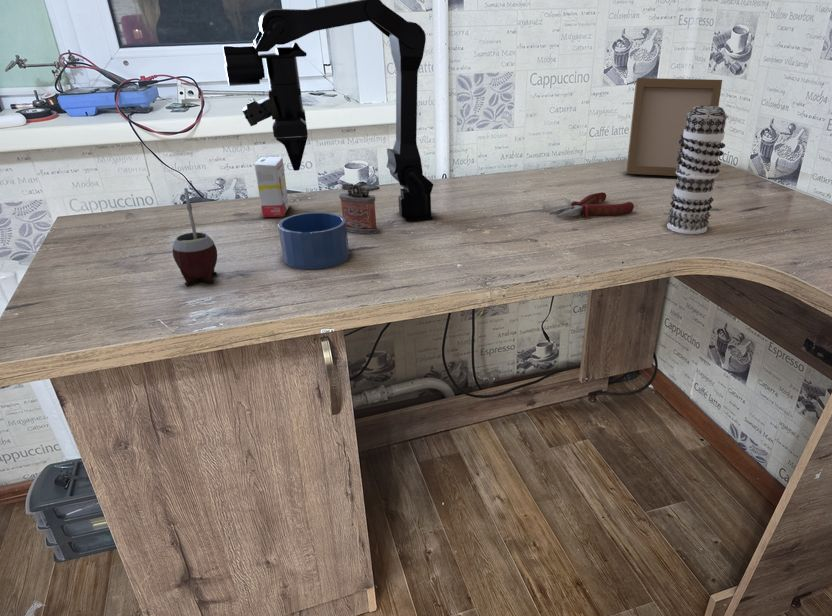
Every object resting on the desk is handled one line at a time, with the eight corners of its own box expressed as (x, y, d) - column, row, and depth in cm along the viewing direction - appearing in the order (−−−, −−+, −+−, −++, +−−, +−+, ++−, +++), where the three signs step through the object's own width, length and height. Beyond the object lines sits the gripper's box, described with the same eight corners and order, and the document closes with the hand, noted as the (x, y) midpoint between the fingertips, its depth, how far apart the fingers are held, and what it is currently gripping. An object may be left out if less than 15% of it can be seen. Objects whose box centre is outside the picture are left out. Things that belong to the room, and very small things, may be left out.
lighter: (380, 229, 136) (377, 183, 131) (373, 234, 133) (369, 187, 128) (347, 225, 138) (342, 180, 133) (339, 230, 135) (334, 184, 130)
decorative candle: (657, 228, 137) (676, 107, 125) (677, 218, 143) (697, 102, 131) (696, 237, 132) (720, 112, 120) (715, 227, 138) (740, 107, 125)
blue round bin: (343, 242, 129) (339, 209, 125) (354, 264, 118) (350, 228, 115) (280, 250, 125) (275, 215, 121) (286, 273, 115) (281, 236, 111)
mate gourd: (197, 291, 108) (177, 205, 100) (168, 281, 111) (147, 197, 104) (232, 276, 113) (216, 194, 106) (204, 267, 117) (186, 187, 109)
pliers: (537, 213, 146) (537, 202, 144) (601, 200, 155) (603, 190, 154) (569, 227, 137) (570, 216, 136) (635, 213, 147) (636, 202, 146)
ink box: (283, 217, 143) (276, 164, 137) (261, 217, 142) (253, 165, 137) (290, 206, 150) (283, 155, 144) (269, 206, 150) (261, 156, 144)
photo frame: (707, 180, 172) (726, 82, 160) (626, 177, 175) (638, 80, 163) (699, 167, 185) (716, 75, 172) (624, 164, 188) (635, 74, 175)
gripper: (243, 78, 127) (257, 157, 135) (237, 91, 111) (253, 179, 119) (300, 76, 129) (310, 153, 137) (301, 88, 114) (313, 175, 121)
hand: (296, 164), depth 129 cm, fingers open, 9 cm apart
